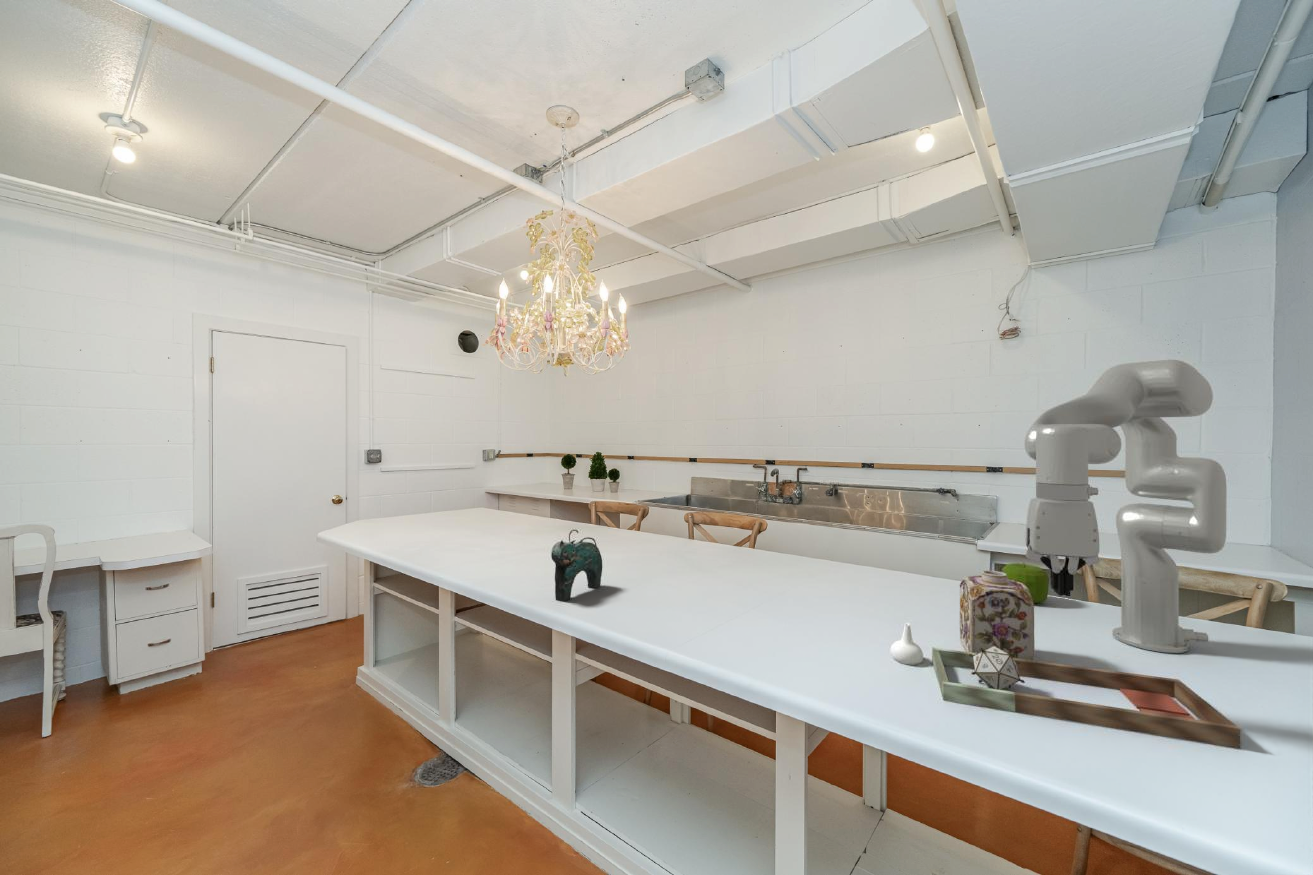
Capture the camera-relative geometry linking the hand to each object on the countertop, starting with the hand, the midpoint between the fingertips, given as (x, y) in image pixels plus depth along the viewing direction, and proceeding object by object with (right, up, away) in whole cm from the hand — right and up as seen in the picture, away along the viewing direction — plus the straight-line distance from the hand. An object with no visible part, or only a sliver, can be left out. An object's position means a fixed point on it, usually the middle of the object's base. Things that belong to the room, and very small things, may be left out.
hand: (1061, 593), depth 95 cm
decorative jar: (0, -19, +18) cm, 27 cm away
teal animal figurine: (-98, -20, +64) cm, 119 cm away
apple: (+32, -18, +54) cm, 65 cm away
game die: (-10, -19, +4) cm, 22 cm away
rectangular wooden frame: (0, -19, 0) cm, 19 cm away
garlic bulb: (-20, -19, +17) cm, 33 cm away
